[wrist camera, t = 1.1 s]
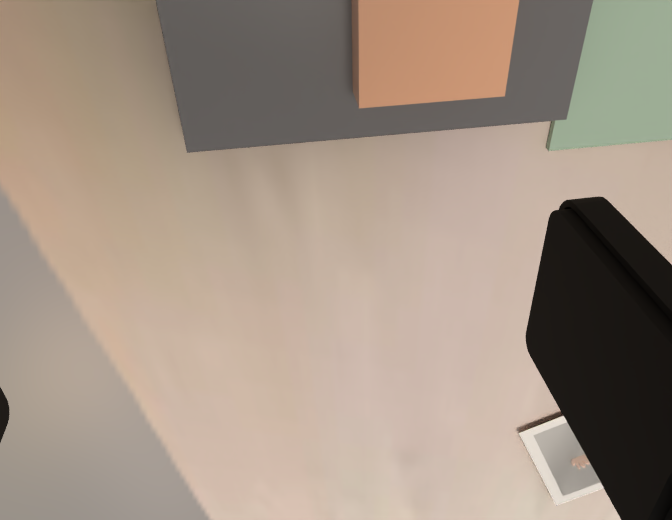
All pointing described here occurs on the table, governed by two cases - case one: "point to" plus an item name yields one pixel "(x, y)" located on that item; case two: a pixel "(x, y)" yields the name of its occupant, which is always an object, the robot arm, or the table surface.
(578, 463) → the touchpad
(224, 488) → the table surface
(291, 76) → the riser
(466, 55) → the terracotta tile
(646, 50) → the mat
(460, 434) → the table surface
